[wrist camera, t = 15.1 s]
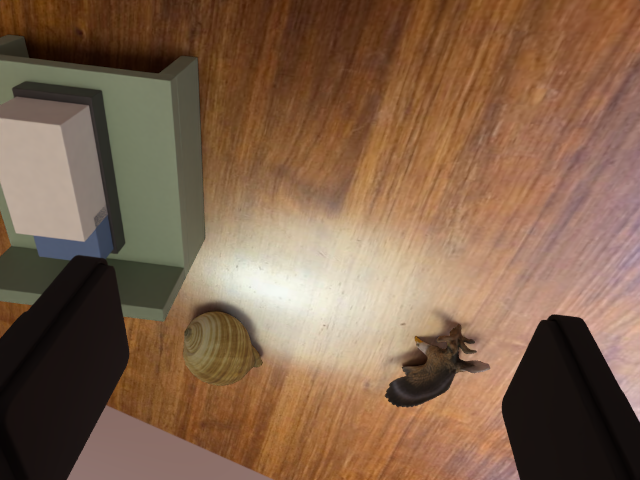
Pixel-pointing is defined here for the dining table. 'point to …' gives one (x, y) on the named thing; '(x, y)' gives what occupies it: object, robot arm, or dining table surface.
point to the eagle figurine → (433, 371)
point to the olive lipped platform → (125, 178)
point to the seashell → (219, 349)
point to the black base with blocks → (60, 171)
